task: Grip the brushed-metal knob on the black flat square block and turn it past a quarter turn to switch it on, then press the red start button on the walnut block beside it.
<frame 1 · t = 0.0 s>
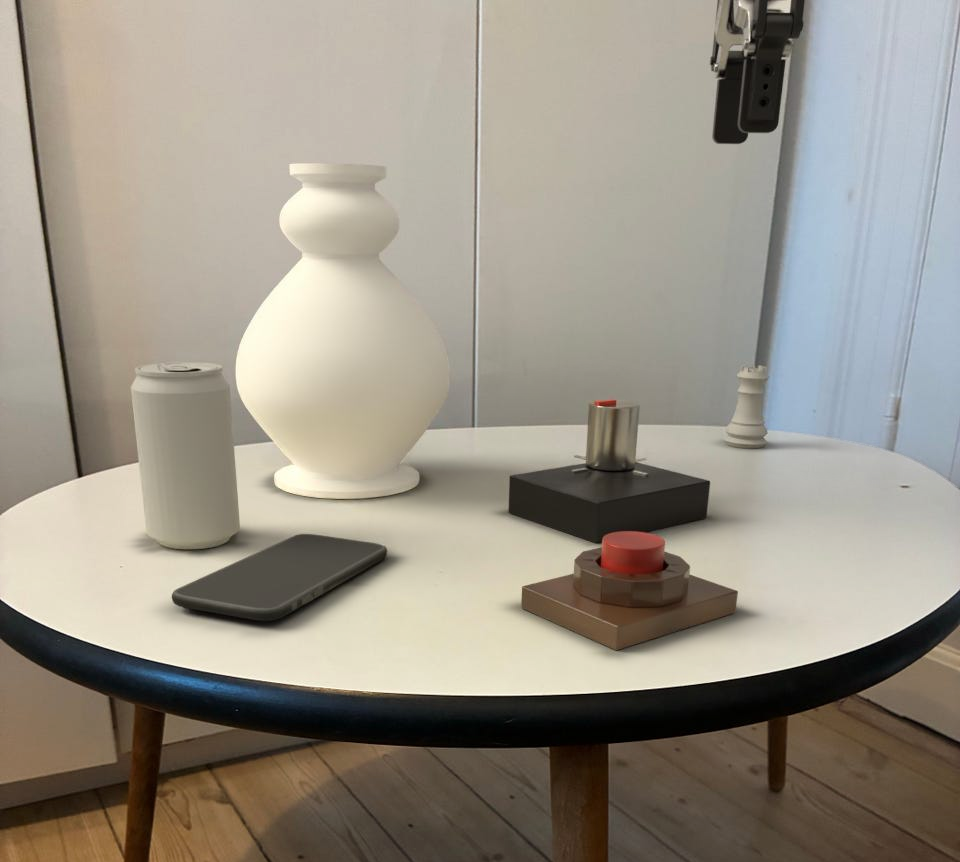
hand: (742, 138, 63), 26 cm above the table, tool pointing down, fingers open, 8 cm apart
hob knob: (612, 432, 82), point 6 cm above the table, hinge at 0.0°
button block: (628, 610, 61), on the table
black flat square block: (607, 515, 80), on the table
beverage can: (194, 541, 73), on the table
smartphone: (288, 582, 64), on the table
start button: (632, 554, 59), point 4 cm above the table, slide at 0.1 cm
decorative vase: (347, 483, 89), on the table
rook chess piece: (744, 446, 108), on the table
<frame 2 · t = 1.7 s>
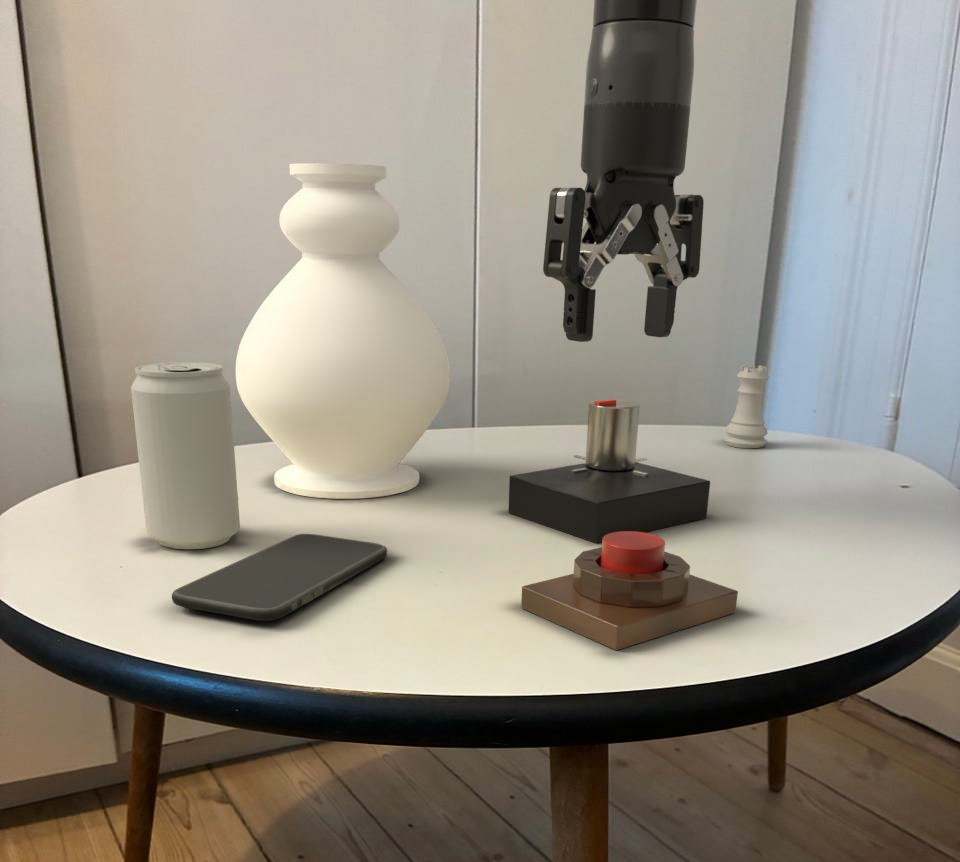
hand: (619, 338, 79), 13 cm above the table, tool pointing down, fingers open, 8 cm apart
nothing on the table moved.
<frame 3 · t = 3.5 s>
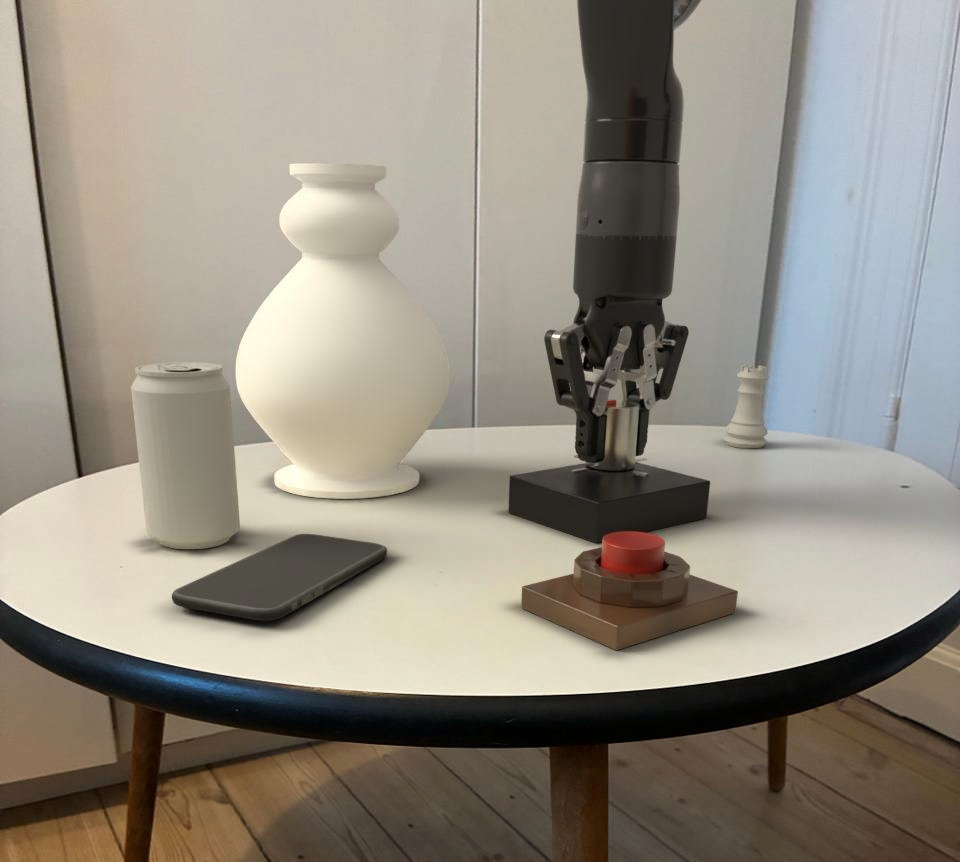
hand: (610, 456, 83), 4 cm above the table, tool pointing down, fingers closed on hob knob, 4 cm apart
hob knob: (612, 432, 82), point 6 cm above the table, hinge at 0.0°, touching gripper
everything else where it was.
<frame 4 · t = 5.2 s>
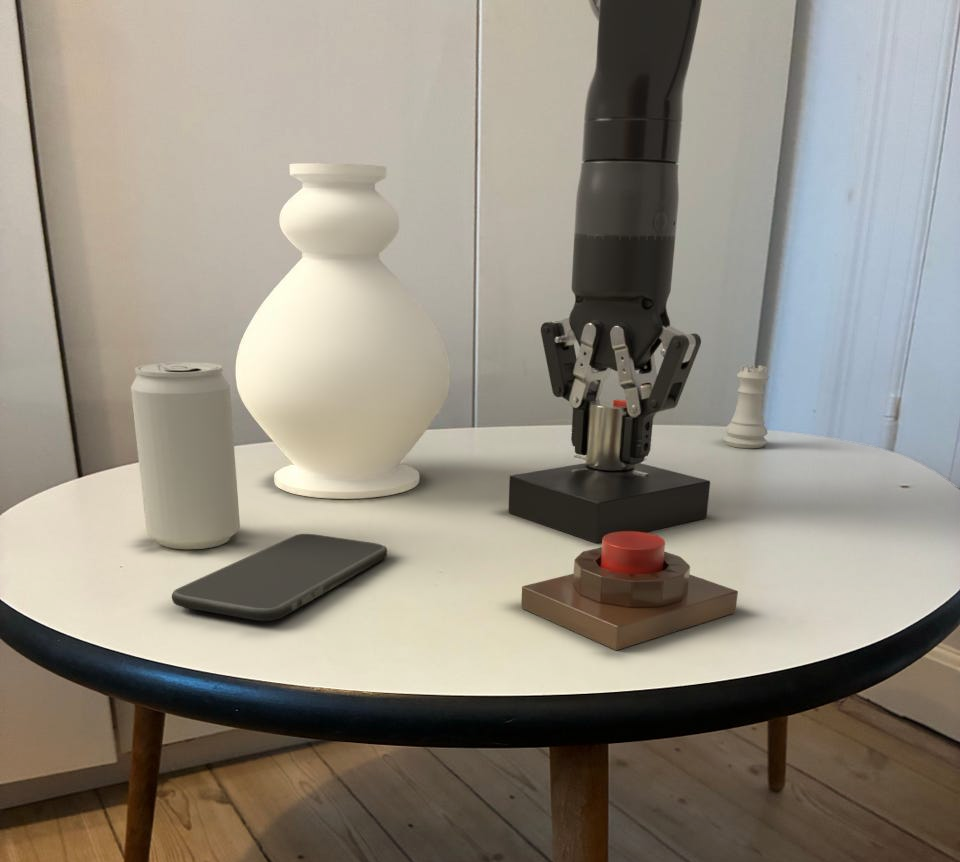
hand: (608, 457, 83), 4 cm above the table, tool pointing down, fingers closed on hob knob, 4 cm apart
hob knob: (612, 432, 82), point 6 cm above the table, hinge at 105.2°, touching gripper
everything else where it was.
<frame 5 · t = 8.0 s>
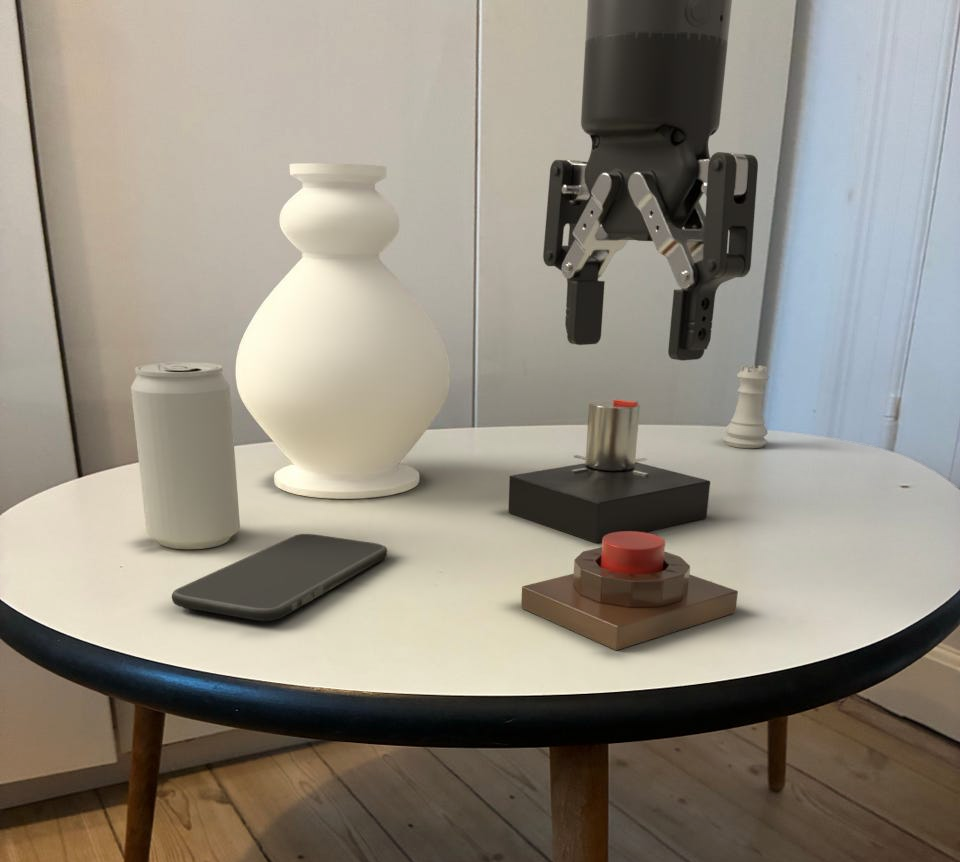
hand: (631, 351, 61), 14 cm above the table, tool pointing down, fingers open, 8 cm apart
hob knob: (612, 432, 82), point 6 cm above the table, hinge at 105.8°
everything else where it was.
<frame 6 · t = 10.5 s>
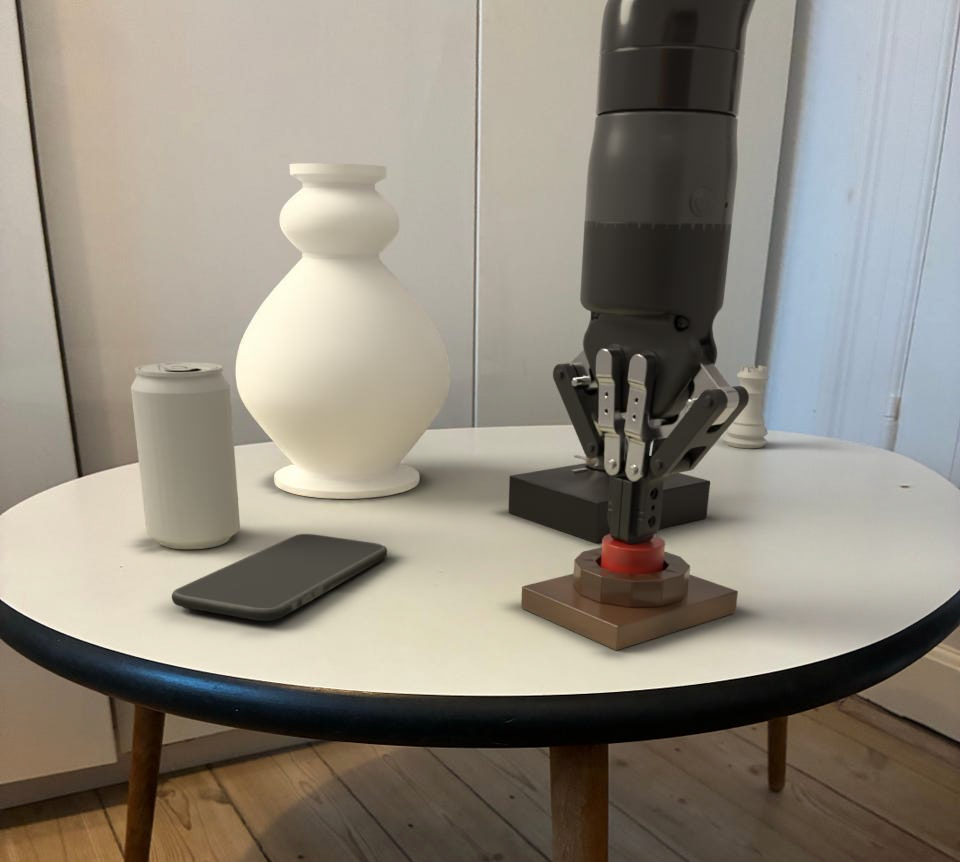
hand: (631, 539, 59), 4 cm above the table, tool pointing down, fingers closed
start button: (632, 554, 59), point 3 cm above the table, slide at 0.1 cm, touching gripper
everything else where it was.
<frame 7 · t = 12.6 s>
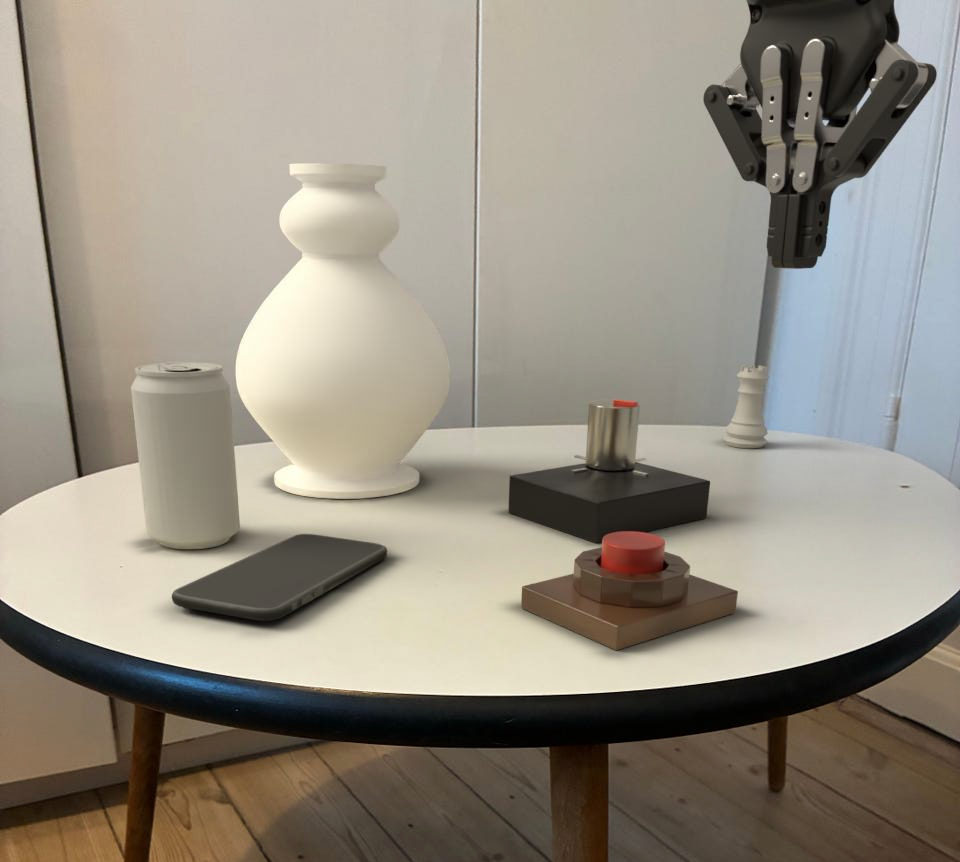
hand: (793, 267, 56), 19 cm above the table, tool pointing down, fingers closed
start button: (632, 554, 59), point 4 cm above the table, slide at 0.1 cm
everything else where it was.
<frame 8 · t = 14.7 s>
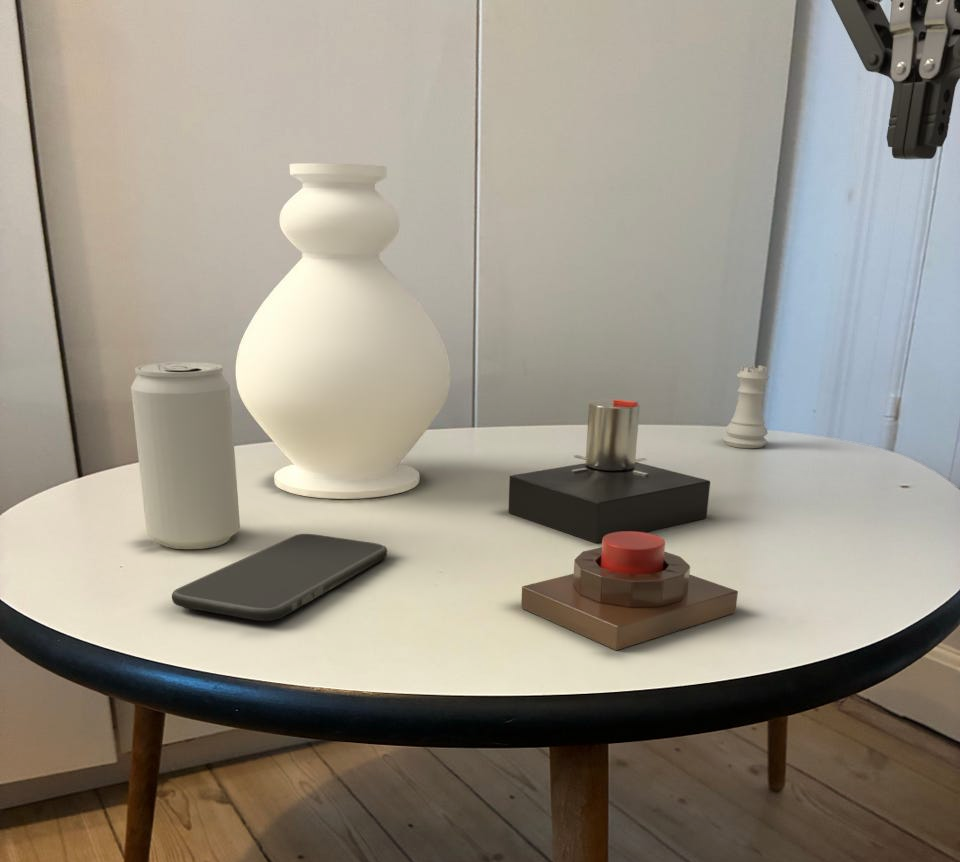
hand: (912, 158, 58), 25 cm above the table, tool pointing down, fingers closed
nothing on the table moved.
at the end: hob knob at +106° (first picture: +0°); start button pushed in 0.9 cm at the most during the clip, back to where it started at the end; start button slide at 0.1 cm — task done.
